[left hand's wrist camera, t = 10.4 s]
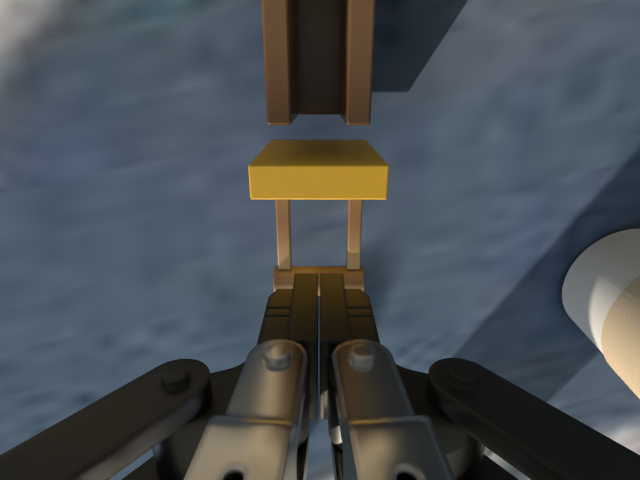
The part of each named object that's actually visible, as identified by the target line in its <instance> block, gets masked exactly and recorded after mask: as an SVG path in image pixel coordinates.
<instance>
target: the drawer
mask: <svg viewBox="0 0 640 480" xmlns="http://www.w3.org/2000/svg"><path fill="white" fill-rule="evenodd" d="M261 1H262V23H263V44H264V66H265V88H266V109H267V123H268V124H269V125H290V124H291V123H292V122H293V120H294V119H295V118H296V117H297V115H298V114H340V116H341V117H342V118H343V120H344V121H345V122H346V124H348V125H369V124H370V118H371V96H372V73H373V51H374V28H375V6H376V0H261ZM248 168H249V183H250V198H251V199H275V203H276V227H277V251H278V266H275V269H274V280H273V284H274V292H275V291H276V290H277V289H293V283H294V275H295V273H318V296H320V273H343V276H344V284H345V289H361V290H362V291H363V292H364V284H365V281H364V268H363V266H360V251H361V226H362V201H363V199H387V191H388V175H389V165H388V164H387V163H386V162H385V161H384V160H383V158H382V157H381V156H380V155H379V154H378V153H377V152H376V151H375V149H374V148H373V147H372V146H371V145H370V144H369V143H368V142H367V140H272V141H271V142H270V143H269V144H268V145H267V146H266V147H265V148H264V149H263V150H262V151H261V153H260V154H259V155H258V156H257V157H256V158H255V159H254V160H253V161H252V162H251V163H250V165H249V166H248ZM290 199H348V220H347V257H346V265H347V266H291V265H292V256H291V220H290Z"/></svg>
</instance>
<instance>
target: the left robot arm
mask: <svg viewBox="0 0 640 480" xmlns="http://www.w3.org/2000/svg"><path fill="white" fill-rule="evenodd" d="M317 404H318V273H295V275H294V283H293V289H277V290H276V291H275V292H274V293H273V294H271V295H270V296H269V298H268V302H267V306H266V310H265V314H264V318H263V322H262V326H261V330H260V334H259V338H258V342H257V346H255V347H254V348H253V349H252V350H251V351H250V352H249V354H248V356H247V359H246V361H245V362H244V363H242V364H240V365H238V366H236V367H234V368H231V369H227V370H223V371H219V372H214V373H210V371H209V369H208V367H207V366H206V365H205V364H204V363H202V362H200V361H198V360H194V359H178V360H173V361H170V362H167V363H164V364H162V365H160V366H158V367H156V368H154V369H153V370H151V371H149V372H147V373H145V374H144V375H142V376H140V377H138V378H137V379H135V380H133V381H131V382H129V383H128V384H126V385H124V386H122V387H121V388H119V389H117V390H115V391H114V392H112V393H110V394H108V395H106V396H105V397H103V398H101V399H99V400H98V401H96V402H94V403H92V404H90V405H89V406H87V407H85V408H83V409H82V410H80V411H78V412H76V413H75V414H73V415H71V416H69V417H67V418H66V419H64V420H62V421H60V422H59V423H57V424H55V425H53V426H51V427H50V428H48V429H46V430H44V431H43V432H41V433H39V434H37V435H35V436H34V437H32V438H30V439H28V440H27V441H25V442H23V443H21V444H20V445H18V446H16V447H14V448H12V449H11V450H9V451H7V452H5V453H4V454H2V455H0V480H109V479H110V478H111V477H113V476H114V475H116V474H117V473H118V472H120V471H121V470H122V469H124V468H125V467H127V466H128V465H129V464H131V463H132V462H134V461H135V460H136V459H138V458H139V457H140V456H142V455H143V454H145V453H146V452H147V451H149V450H150V449H152V450H153V455H154V456H153V457H152V458H150V459H149V460H148V461H146V462H145V463H144V464H142V465H141V466H140V467H138V468H137V469H135V470H134V471H133V472H131V473H130V474H129V475H127V476H126V477H125V478H123V479H122V480H305V478H306V469H307V461H308V452H309V419H317ZM320 419H328V431H329V436H330V438H331V452H332V461H333V469H334V478H335V480H518V479H517V478H515V477H514V476H513V475H511V474H510V473H509V472H507V471H506V470H504V469H503V468H502V467H500V466H499V465H498V464H496V463H495V462H494V461H492V460H491V459H490V458H488V457H487V456H486V455H484V450H485V446H486V447H487V448H488V449H490V450H491V451H493V452H494V453H495V454H497V455H498V456H500V457H501V458H502V459H504V460H505V461H506V462H508V463H509V464H511V465H512V466H513V467H515V468H516V469H518V470H519V471H520V472H522V473H523V474H524V475H526V476H527V477H529V478H530V479H531V480H640V455H638V454H636V453H635V452H633V451H631V450H629V449H628V448H626V447H624V446H622V445H620V444H619V443H617V442H615V441H613V440H612V439H610V438H608V437H606V436H604V435H603V434H601V433H599V432H597V431H596V430H594V429H592V428H590V427H589V426H587V425H585V424H583V423H581V422H580V421H578V420H576V419H574V418H573V417H571V416H569V415H567V414H565V413H564V412H562V411H560V410H558V409H557V408H555V407H553V406H551V405H550V404H548V403H546V402H544V401H542V400H541V399H539V398H537V397H535V396H534V395H532V394H530V393H528V392H526V391H525V390H523V389H521V388H519V387H518V386H516V385H514V384H512V383H511V382H509V381H507V380H505V379H503V378H502V377H500V376H498V375H496V374H495V373H493V372H491V371H489V370H487V369H486V368H484V367H482V366H480V365H478V364H476V363H474V362H471V361H468V360H465V359H459V358H446V359H441V360H438V361H436V362H435V363H434V364H432V366H431V367H430V369H429V374H427V373H422V372H418V371H413V370H409V369H406V368H403V367H400V366H398V365H396V364H395V361H394V359H393V356H392V354H391V352H390V351H389V350H388V349H387V348H386V347H385V346H383V345H381V344H380V341H379V337H378V332H377V328H376V324H375V320H374V317H373V311H372V307H371V303H370V298H369V297H368V296H367V295H366V294H365V293H364V292H363V291H362V290H361V289H345V284H344V276H343V273H320Z"/></svg>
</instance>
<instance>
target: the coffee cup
mask: <svg viewBox="0 0 640 480" xmlns="http://www.w3.org/2000/svg"><path fill="white" fill-rule="evenodd" d="M562 301H563V306H564V308H565V311H566V312H567V314H568V315H569V317H570V318H571V319H572V320H573V321H574V322H575V323H576V325H577V326H578V327H579V328H580V329H581V330H582V331H583V332H584V333H585V334H586V336H587V337H588V338H589V339H590V340H591V341H592V342H593V343H594V344H595V345H596V347H597V348H598V349H599V350H600V351H601V352H602V353H603V354H604V357H605V359H606V361H607V362H608V364H609V365H610V366H611V367H612V369H613V370H614V371H615V372H616V373H617V374H618V375H619V376H620V377H621V379H622V380H623V381H624V382H625V383H626V384H627V385H628V386H629V388H630V389H631V390H632V391H633V392H634V393H635V394H636V395H637V396H638V398H639V399H640V229H628V230H623V231H619V232H616V233H613V234H611V235H608V236H606V237H604V238H602V239H600V240H599V241H597V242H595V243H594V244H592V245H591V246H590V247H588V248H587V249H586V250H585V251H584V252H583V253H582V254H581V255H580V256H579V257H578V258H577V259H576V260H575V262H574V263H573V264H572V266H571V267H570V269H569V271H568V273H567V275H566V277H565V280H564V283H563V288H562Z"/></svg>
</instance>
